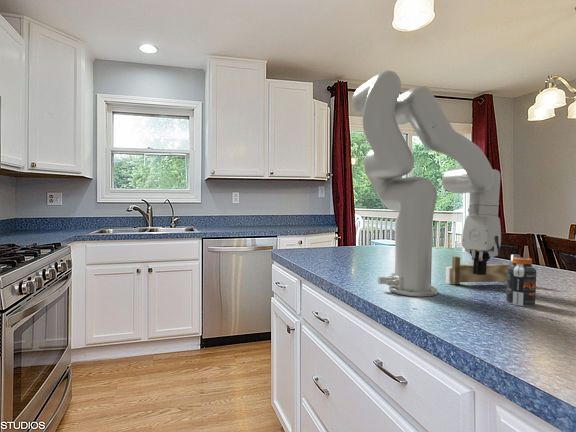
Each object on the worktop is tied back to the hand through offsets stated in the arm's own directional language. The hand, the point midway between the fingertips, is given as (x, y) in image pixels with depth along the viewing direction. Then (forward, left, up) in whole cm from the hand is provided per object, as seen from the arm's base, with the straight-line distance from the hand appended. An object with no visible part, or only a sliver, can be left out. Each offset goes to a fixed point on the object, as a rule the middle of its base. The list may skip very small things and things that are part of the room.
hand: (479, 274), depth 103 cm
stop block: (-5, +5, -4) cm, 8 cm away
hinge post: (+14, +3, -4) cm, 14 cm away
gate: (+3, +3, -3) cm, 5 cm away
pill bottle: (-1, -17, -4) cm, 18 cm away
